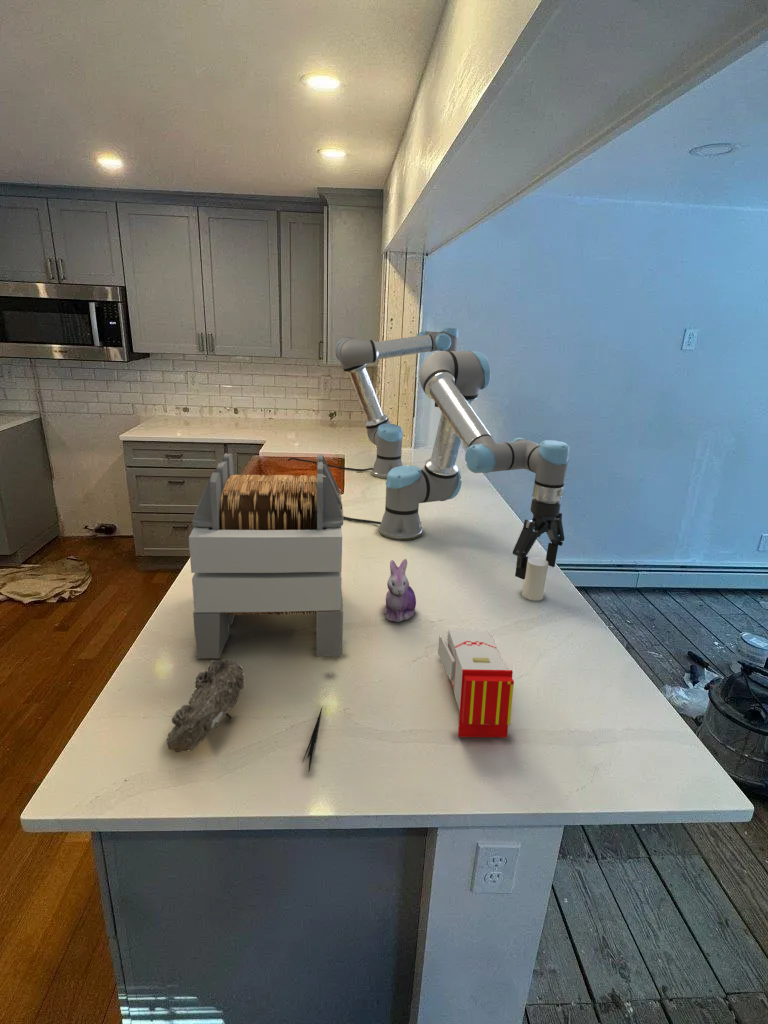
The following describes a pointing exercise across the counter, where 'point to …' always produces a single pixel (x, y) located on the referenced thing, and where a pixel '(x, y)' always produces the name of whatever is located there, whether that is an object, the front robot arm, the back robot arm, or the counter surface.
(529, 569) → the canister
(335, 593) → the transformer
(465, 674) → the toy
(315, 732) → the feather
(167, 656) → the counter surface
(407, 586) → the figurine
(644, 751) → the counter surface
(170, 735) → the fossil
